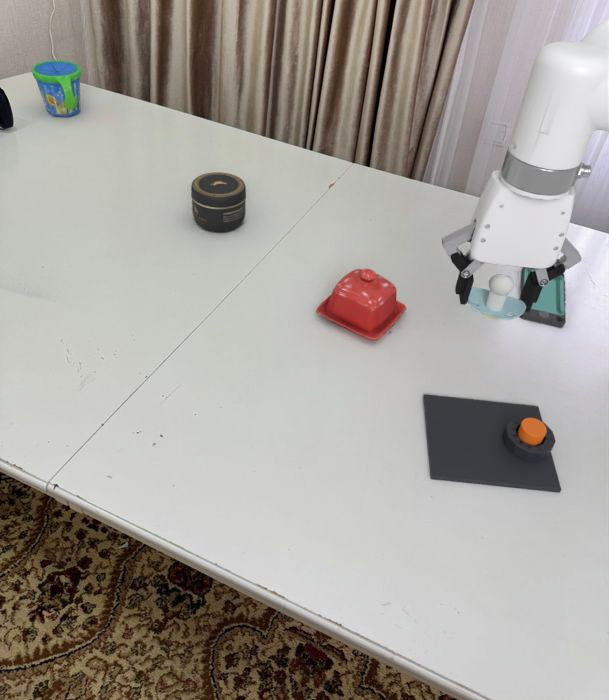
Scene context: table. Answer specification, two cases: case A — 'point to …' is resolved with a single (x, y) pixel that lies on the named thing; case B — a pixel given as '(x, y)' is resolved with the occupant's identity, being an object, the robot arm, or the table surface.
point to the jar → (218, 201)
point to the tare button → (532, 431)
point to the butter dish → (363, 304)
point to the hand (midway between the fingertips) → (493, 300)
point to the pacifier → (497, 299)
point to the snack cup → (59, 86)
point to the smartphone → (547, 302)
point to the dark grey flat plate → (486, 444)
